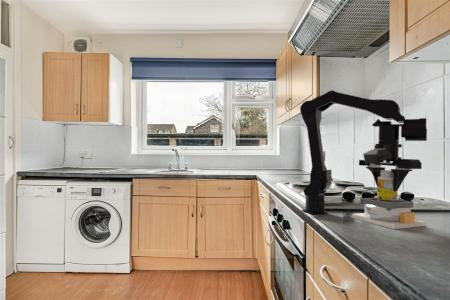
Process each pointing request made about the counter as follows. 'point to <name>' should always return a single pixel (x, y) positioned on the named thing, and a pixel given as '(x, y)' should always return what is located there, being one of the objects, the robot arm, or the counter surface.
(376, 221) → the mount plate
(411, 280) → the counter surface
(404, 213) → the hollow square frame
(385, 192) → the supplement bottle
